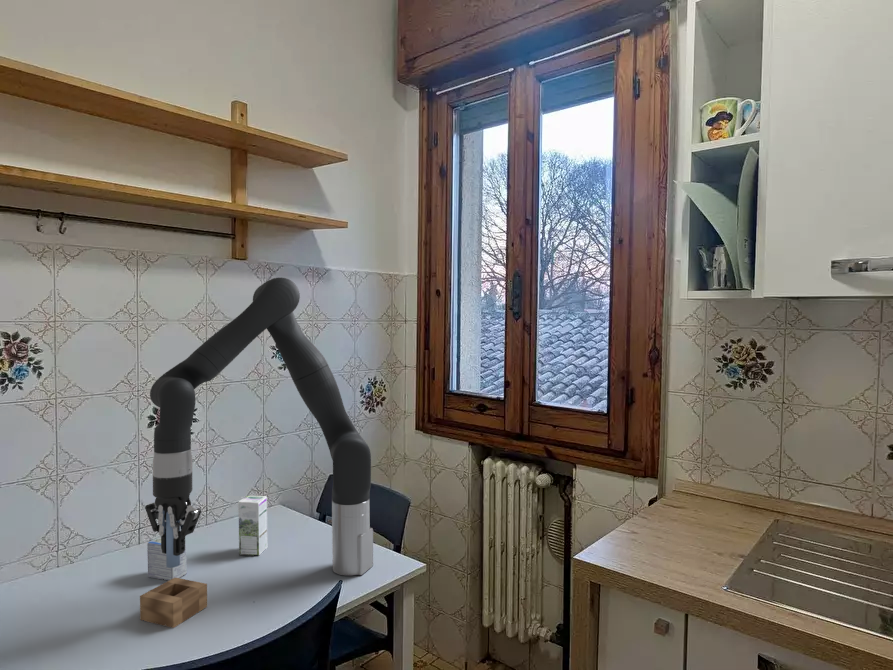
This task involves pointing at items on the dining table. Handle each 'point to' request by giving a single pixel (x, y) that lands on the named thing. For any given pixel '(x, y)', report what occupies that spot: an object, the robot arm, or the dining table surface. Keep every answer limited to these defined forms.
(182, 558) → the medicine box
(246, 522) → the syrup box
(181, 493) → the robot arm
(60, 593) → the dining table surface
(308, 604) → the dining table surface
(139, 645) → the dining table surface
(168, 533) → the blue rounded rod
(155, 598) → the hollow square block
